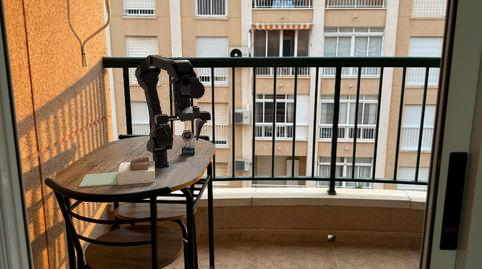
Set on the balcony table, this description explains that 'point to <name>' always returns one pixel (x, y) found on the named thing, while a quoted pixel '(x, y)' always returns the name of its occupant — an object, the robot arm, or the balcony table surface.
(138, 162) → the walnut tile
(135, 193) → the balcony table surface
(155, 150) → the robot arm
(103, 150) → the balcony table surface
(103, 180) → the sage green mat
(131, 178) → the block
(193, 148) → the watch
